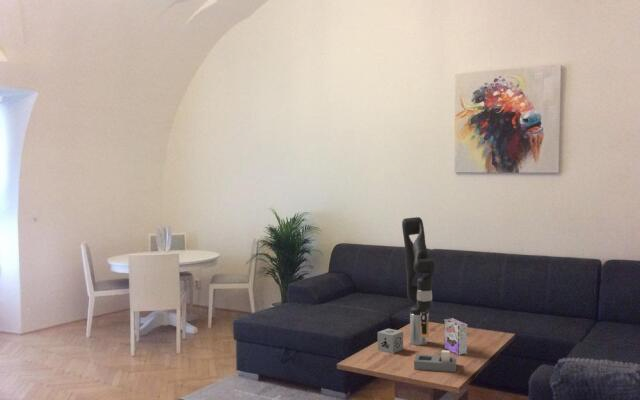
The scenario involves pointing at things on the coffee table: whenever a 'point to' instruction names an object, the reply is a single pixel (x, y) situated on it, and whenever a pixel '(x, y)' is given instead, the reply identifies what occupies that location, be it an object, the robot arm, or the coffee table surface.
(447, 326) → the candy box
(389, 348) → the icon cube
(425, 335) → the orange plug
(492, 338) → the coffee table surface
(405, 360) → the coffee table surface
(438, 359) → the grey slotted holder
